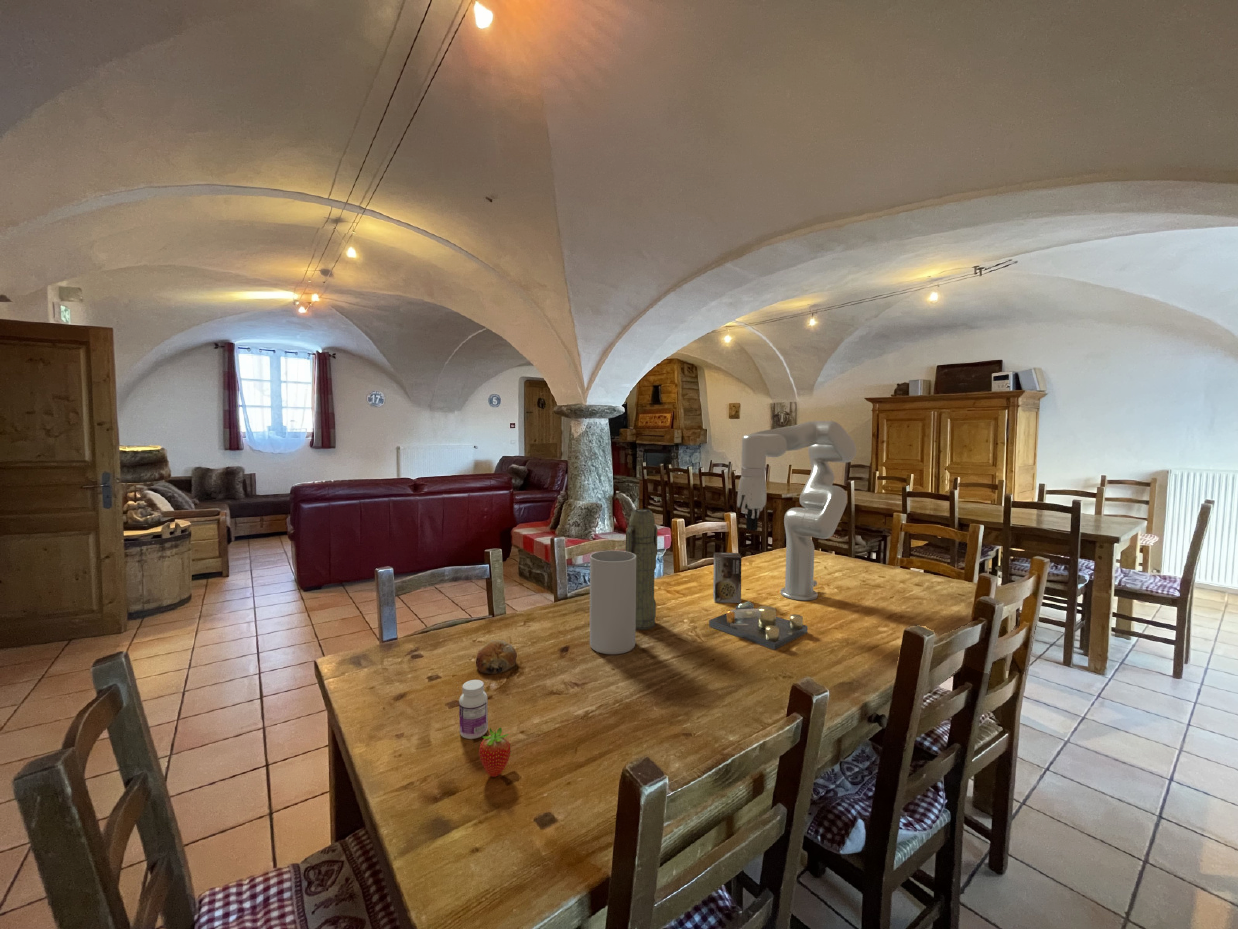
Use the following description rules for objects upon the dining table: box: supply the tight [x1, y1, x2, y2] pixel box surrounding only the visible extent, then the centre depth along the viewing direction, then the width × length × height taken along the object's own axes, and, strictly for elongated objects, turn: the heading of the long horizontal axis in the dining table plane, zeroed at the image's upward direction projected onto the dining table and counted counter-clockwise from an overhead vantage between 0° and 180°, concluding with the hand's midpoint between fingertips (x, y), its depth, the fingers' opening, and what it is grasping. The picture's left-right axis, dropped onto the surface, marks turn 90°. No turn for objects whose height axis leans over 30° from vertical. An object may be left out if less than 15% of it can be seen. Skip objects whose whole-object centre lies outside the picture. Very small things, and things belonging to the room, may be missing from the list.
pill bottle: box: [458, 679, 489, 740], centre depth 101 cm, size 5×5×10 cm
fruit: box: [478, 727, 511, 778], centre depth 88 cm, size 5×5×8 cm
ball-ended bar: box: [726, 605, 777, 629], centre depth 150 cm, size 15×5×5 cm, turn 98°
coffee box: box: [712, 552, 742, 604], centre depth 179 cm, size 9×6×16 cm
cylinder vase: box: [589, 550, 637, 655], centre depth 141 cm, size 12×12×25 cm
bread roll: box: [475, 639, 518, 675], centre depth 130 cm, size 10×10×8 cm
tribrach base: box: [708, 601, 809, 651], centre depth 153 cm, size 18×22×5 cm
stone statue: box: [625, 508, 658, 631], centre depth 156 cm, size 9×12×35 cm
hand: (751, 529), depth 167 cm, fingers closed
